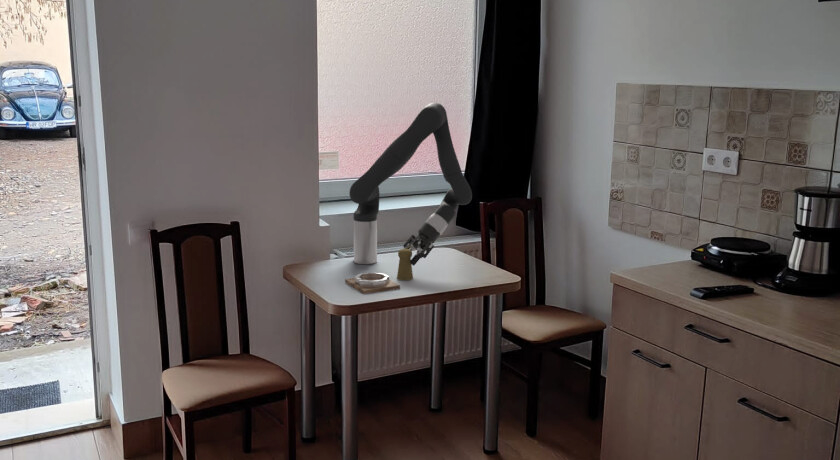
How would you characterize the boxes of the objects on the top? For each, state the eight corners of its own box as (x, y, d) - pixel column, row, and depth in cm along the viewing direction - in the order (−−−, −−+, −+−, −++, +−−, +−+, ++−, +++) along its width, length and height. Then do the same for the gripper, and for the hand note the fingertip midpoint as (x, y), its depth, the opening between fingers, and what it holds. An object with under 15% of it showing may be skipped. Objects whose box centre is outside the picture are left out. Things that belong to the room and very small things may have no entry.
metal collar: (351, 280, 280) (351, 274, 280) (379, 276, 286) (379, 271, 285) (364, 288, 270) (364, 282, 270) (393, 284, 276) (393, 278, 275)
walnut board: (345, 282, 282) (345, 279, 281) (379, 277, 288) (379, 274, 288) (363, 293, 268) (363, 290, 268) (399, 288, 275) (399, 285, 275)
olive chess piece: (411, 280, 285) (411, 251, 282) (395, 279, 286) (395, 250, 283) (414, 276, 290) (414, 247, 288) (398, 275, 291) (399, 246, 289)
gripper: (417, 218, 294) (390, 251, 291) (436, 225, 282) (408, 259, 279) (429, 230, 298) (403, 263, 295) (448, 238, 286) (421, 272, 283)
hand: (406, 261), depth 287 cm, fingers open, 8 cm apart
